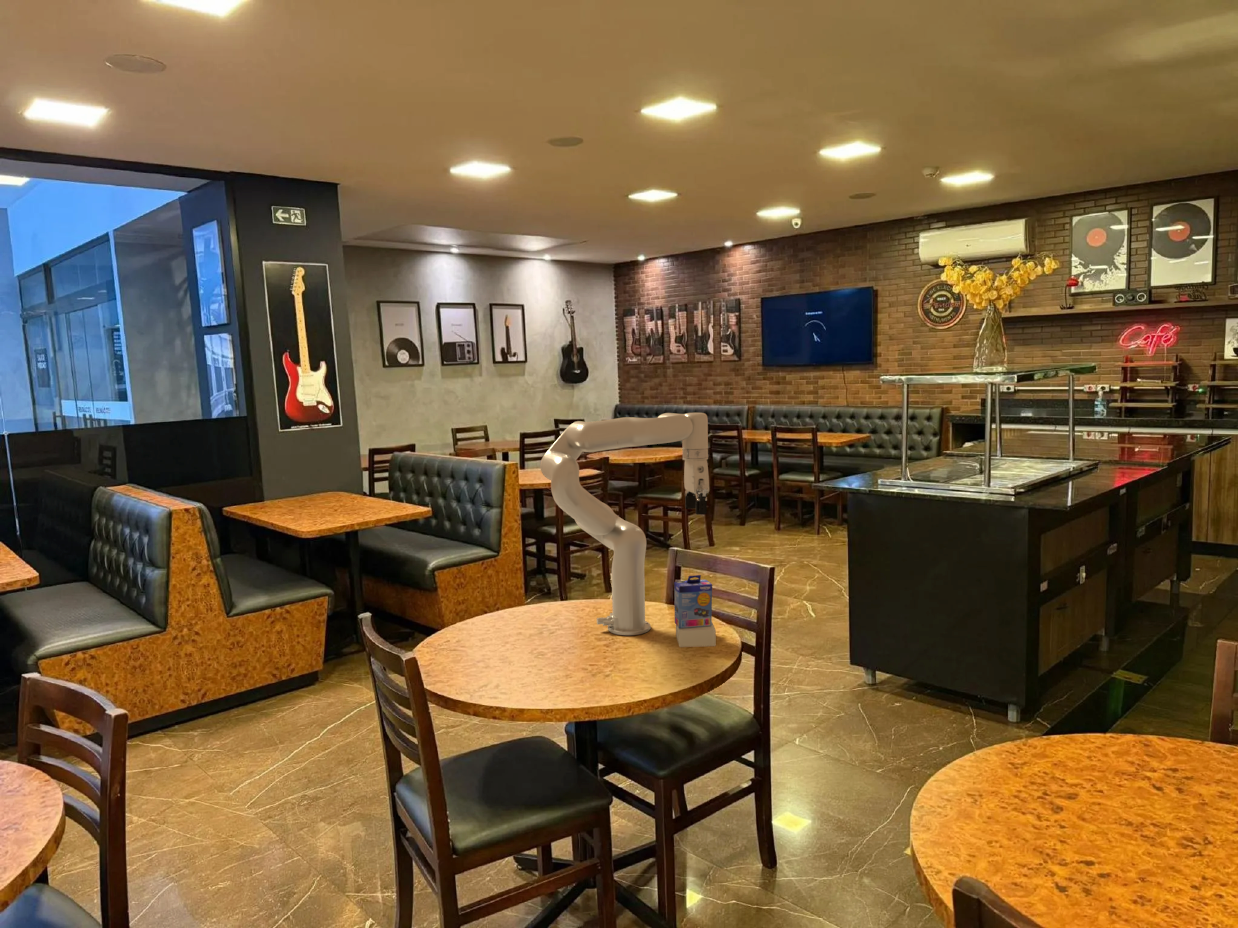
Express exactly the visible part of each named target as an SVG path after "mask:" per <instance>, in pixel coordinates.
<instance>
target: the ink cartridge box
mask: <svg viewBox="0 0 1238 928" xmlns="http://www.w3.org/2000/svg"><path fill="white" fill-rule="evenodd" d="M693 578H694V579H693ZM695 578H696V579H695ZM701 578H702V575H701V574H696V575H689V576H688V578H687V579H686V580H679V581H674V582H673V583H674V587H673V588H674V590H673V591H674V624H675V626H676V625H677V626H678V628H691V627H705V626H712V623H713V621H712V618H713V617H712V616H713V614H712V612H713V609H712V607H713V606H712V605H713V602H712V601H713V599H712V598H713V584H712V583H711V582H710V581H708V580H707V579H701Z"/></svg>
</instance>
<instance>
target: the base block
mask: <svg viewBox="0 0 1238 928" xmlns="http://www.w3.org/2000/svg"><path fill="white" fill-rule="evenodd" d="M716 632H717V630H716V628H715V625H714V623H713V622H712V626H705V627H691V628H678V626H677V625H676V624H675V637H676V640H677V644H678V646H679V648H694V647H695V648H696V647H699V648H700V647H716V646H717V644H716V643H717V642H716V639H717V636H716V635H717V633H716Z"/></svg>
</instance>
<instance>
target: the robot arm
mask: <svg viewBox="0 0 1238 928" xmlns="http://www.w3.org/2000/svg"><path fill="white" fill-rule="evenodd" d="M708 423H709V422H708V415H707V414H706V413H704V412H687V413H673V412H665V413H661V414H660V415H658V416H657V417H632V416H631V417H629V416H627V417H625V416H624V417H618V418H611V419H604V420H602V419H601V420H594V421H581V420H577V421H574V422H573V423H571V424H570V425H568V426H567V428H566V429H564V430H563V432H562V433H561V434H560V435H559V437H558V438H557V439H556V440H555V441H554V443H553V444H552V445H551V446H550V447H549V448H548V450H547V451H546V452H545V453H544V455H543V456H542V458H541V461H540V468H539V469H540V471H541V473H542V475H543V476H544V477H545V478H546V479H548V480H549V481H550V489H551V490H550V491H551V495H552V497H553V500H554V502H555V504H556V506H558V508H560V509H561V510H562V511H563V512H564V513H566V514H567V515H568V516H569V517H570V518H572V519H574V521H575V523H576V524H577V526H578V527H579V528H580V529H581V530H582V531H584V532H585V533H587V534H588V535H590V536H591V537H592V538H594V539H595V540H597V541H598V542H599V543H601V544H602V545H603V546H605V547H606V548H608V549H610V550H612V551H613V557H612V562H611V563H612V564H611V596H612V600H611V601H612V602H611V603H612V612H609V615H607V616H606V617H597V618H596V624H597V626H598V625H602V626H603V627H604V626H605V627H606V626H607V630H608V631H609V633H611V634H614V635H619V636H637V635H643V634H645V633H647V632H650V631H651V629H652V627H651V624H650V622H649V621H647V620H646V601H645V599H646V597H645V596H646V594H645V593H646V591H645V590H646V589H645V588H646V586H645V557H646V552H647V538H646V534H645V532H644V530H642V529H641V527H639V526H638V525H636V524H635V523H632V522H630V521H627V520H624V519H623V518H621V517H620V516H618V515H617V514H616V513H615V512H614V510H613V509H612V508H611V507H610V506H609V505H608V504H606V503H604V502H602V501H601V500H600V499H598V498H596V496H594V495H592V494H591V493H590V492H589V491H587V489H586V488H584V487H583V486H582V485H581V483H580V465H579V463H578V461H577V459H578V458H579V457H580V456H581V455H582V453H583V452H584V453H595V452H601V451H602V452H603V451H608V450H609V451H610V450H615V449H623V448H629V447H632V448H633V447H641V446H648V445H649V446H650V445H657V444H658V445H660V444H667V443H674V442H680V441H682V442H681V443H682V461H684V471H683V472H684V473H683V474H684V475H683V483H684V484H683V487H684V489H685V491H684V497H685V498H684V500H685V501H684V503H685V506H684V507H685V510H695V514H696V515H707V511H708V510H707V505H708V503H707V502H708V497H707V496H708V494H709V492H710V476H709V467H708V466H709V465H708V459H709V454H708V453H709V439H708V437H709V435H708V434H709V433H708V432H709V426H708V425H709V424H708Z"/></svg>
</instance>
